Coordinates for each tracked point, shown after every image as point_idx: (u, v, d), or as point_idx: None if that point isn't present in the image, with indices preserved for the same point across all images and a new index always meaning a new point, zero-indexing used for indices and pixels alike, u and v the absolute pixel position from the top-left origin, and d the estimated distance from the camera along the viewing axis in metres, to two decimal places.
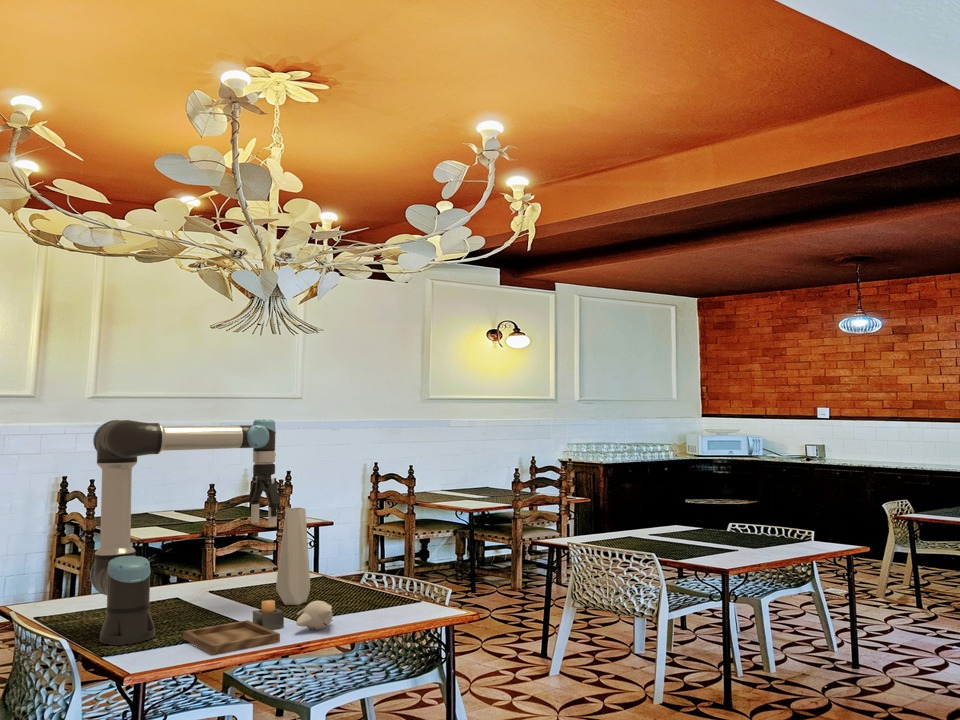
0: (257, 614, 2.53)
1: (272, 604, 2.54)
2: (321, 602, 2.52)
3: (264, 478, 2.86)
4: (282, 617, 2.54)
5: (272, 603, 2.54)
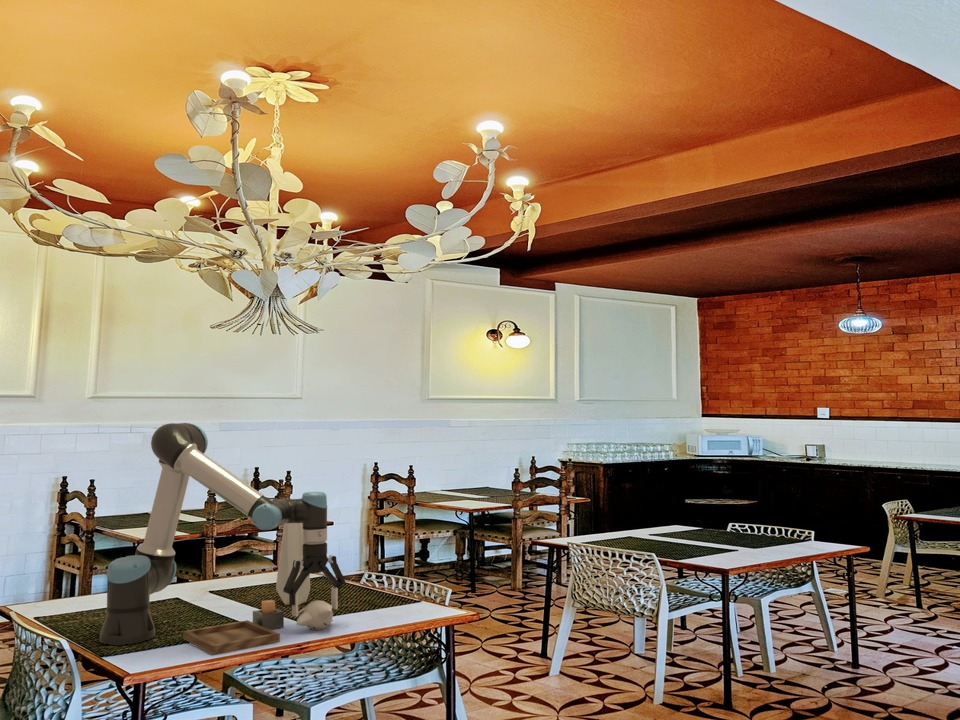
0: (257, 614, 2.53)
1: (272, 604, 2.54)
2: (322, 602, 2.52)
3: None
4: (282, 617, 2.54)
5: (272, 603, 2.54)
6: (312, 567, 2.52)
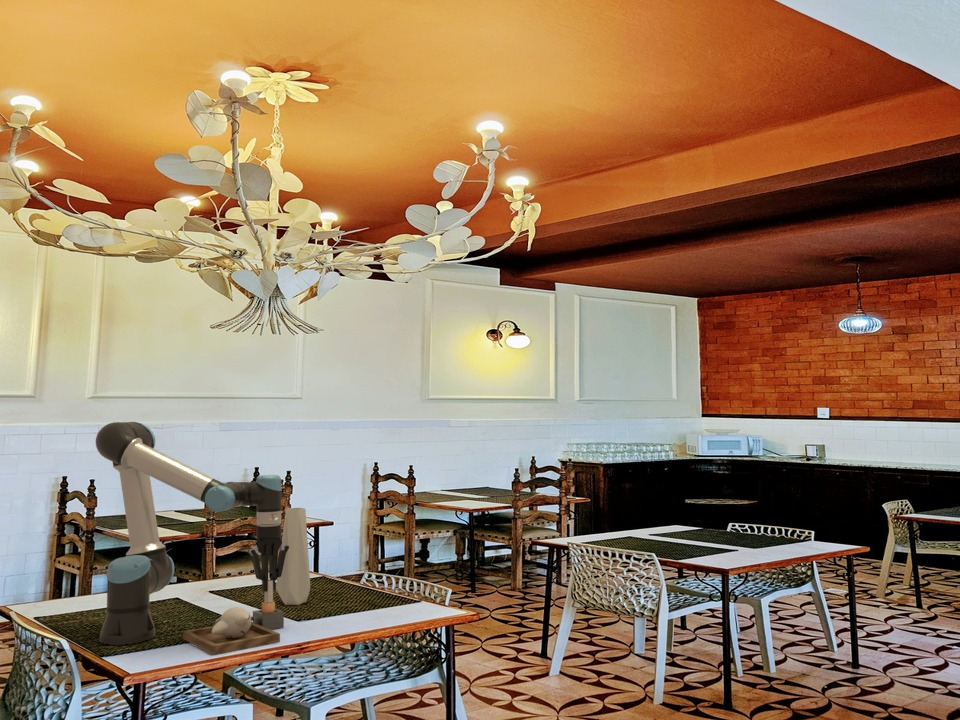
0: (257, 614, 2.53)
1: (272, 605, 2.54)
2: (239, 609, 2.40)
3: None
4: (282, 617, 2.54)
5: (272, 604, 2.54)
6: (267, 549, 2.55)
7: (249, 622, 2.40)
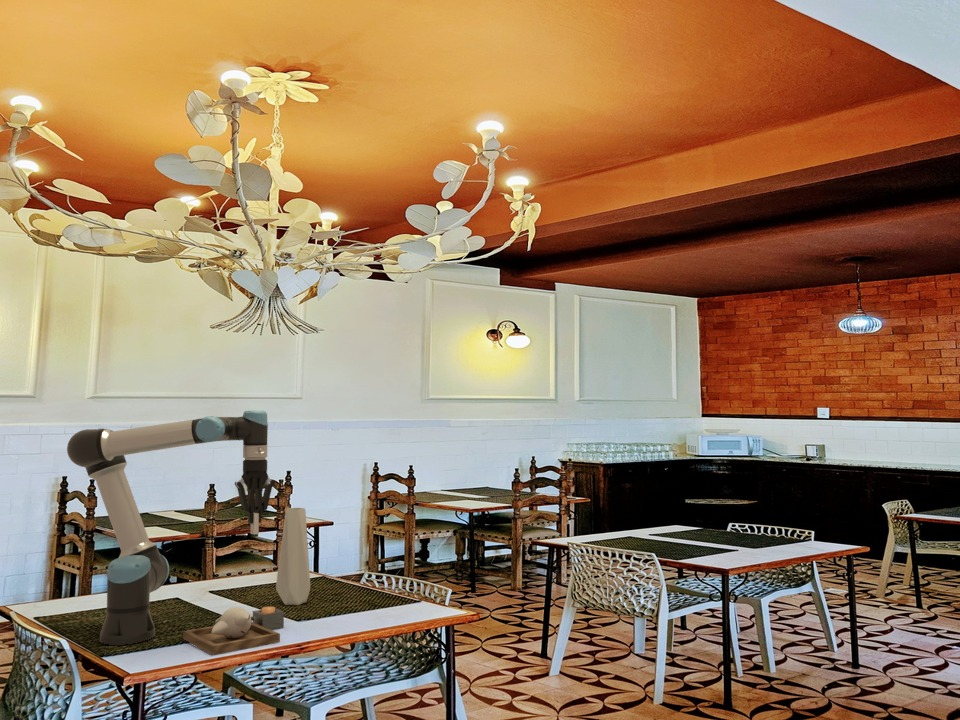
0: (257, 614, 2.53)
1: (272, 610, 2.54)
2: (239, 609, 2.40)
3: None
4: (282, 617, 2.54)
5: (272, 609, 2.54)
6: (253, 482, 2.59)
7: (249, 622, 2.40)
